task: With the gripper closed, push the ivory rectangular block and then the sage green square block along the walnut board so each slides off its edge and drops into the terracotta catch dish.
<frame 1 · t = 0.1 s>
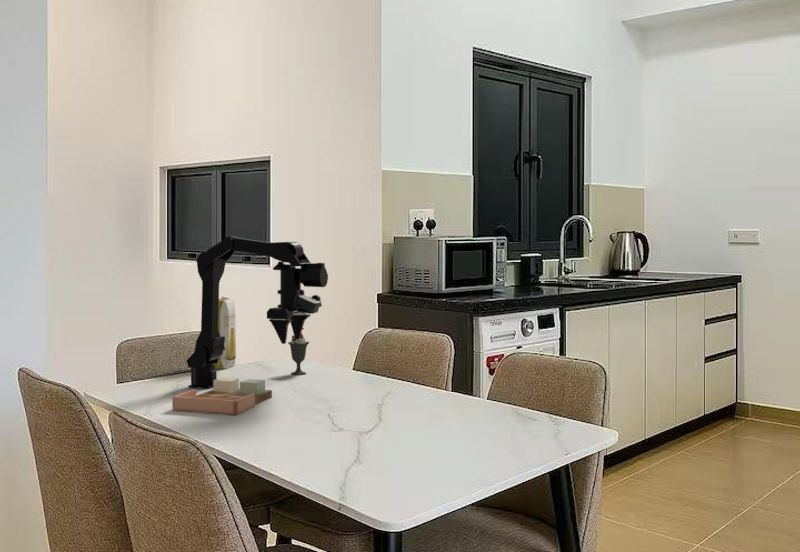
hand: (290, 341, 222), 15 cm above the table, fingers open, 9 cm apart
board: (235, 400, 212), on the table
sage green square block: (252, 391, 214), point 2 cm above the table, touching board
juice carton: (221, 367, 265), on the table
ivory rectangular block: (226, 390, 216), point 2 cm above the table, touching board
sundae: (298, 374, 253), on the table
tray: (214, 408, 202), on the table
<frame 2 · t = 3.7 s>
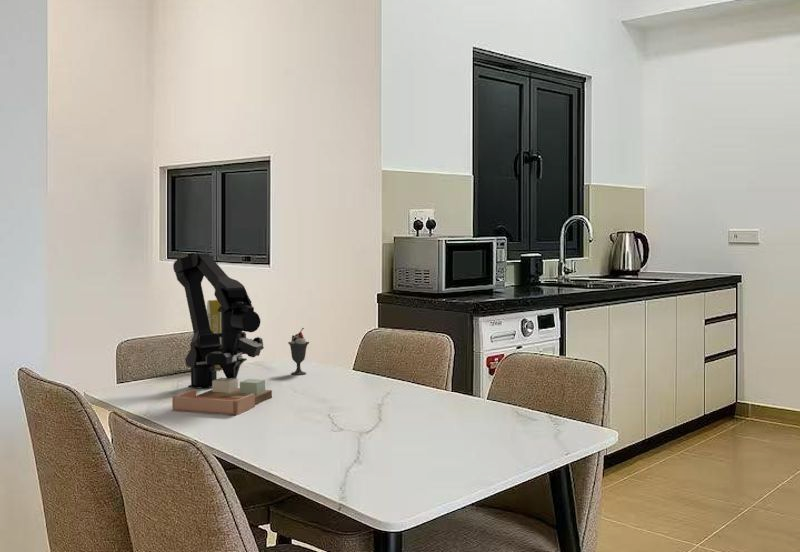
hand: (232, 384, 219), 3 cm above the table, fingers closed
ivory rectangular block: (225, 390, 215), point 2 cm above the table, touching gripper
everything else where it was.
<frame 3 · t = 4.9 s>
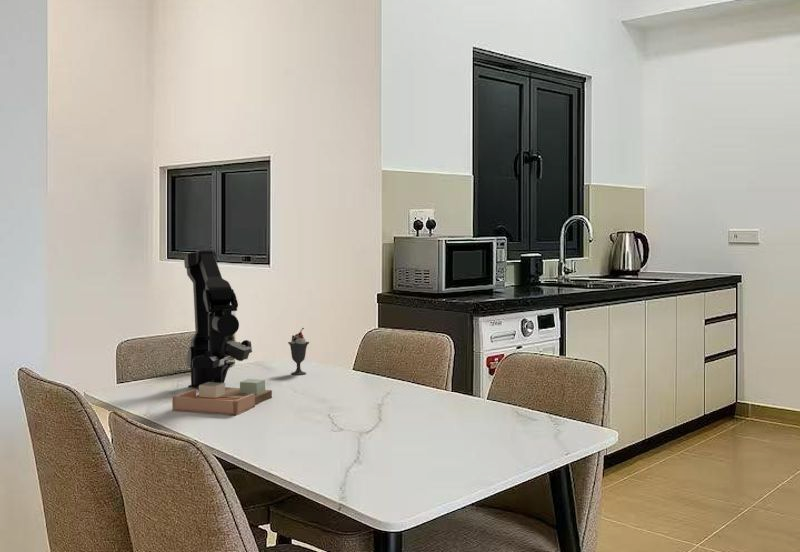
hand: (219, 389, 212), 3 cm above the table, fingers closed
ivory rectangular block: (212, 395, 209), point 2 cm above the table, touching gripper
everything else where it was.
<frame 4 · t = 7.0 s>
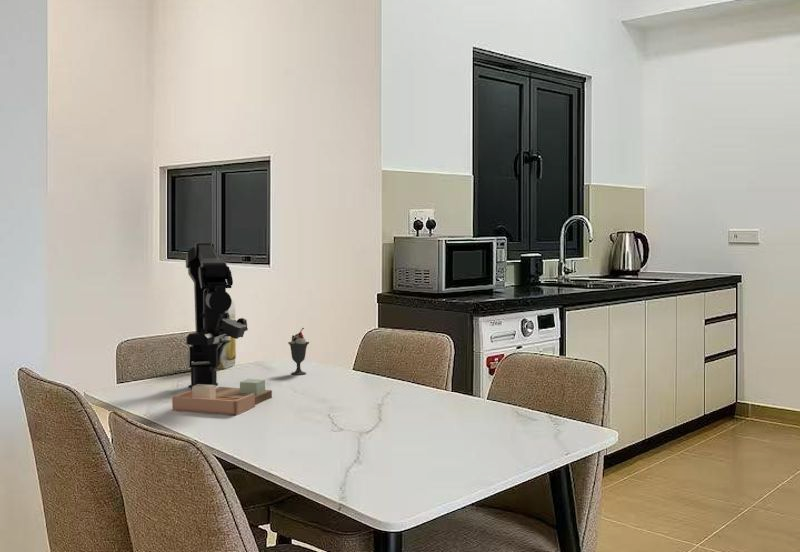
hand: (214, 367, 210), 9 cm above the table, fingers closed
ivory rectangular block: (206, 394, 206), point 3 cm above the table, tilted 90°, touching tray
everything else where it was.
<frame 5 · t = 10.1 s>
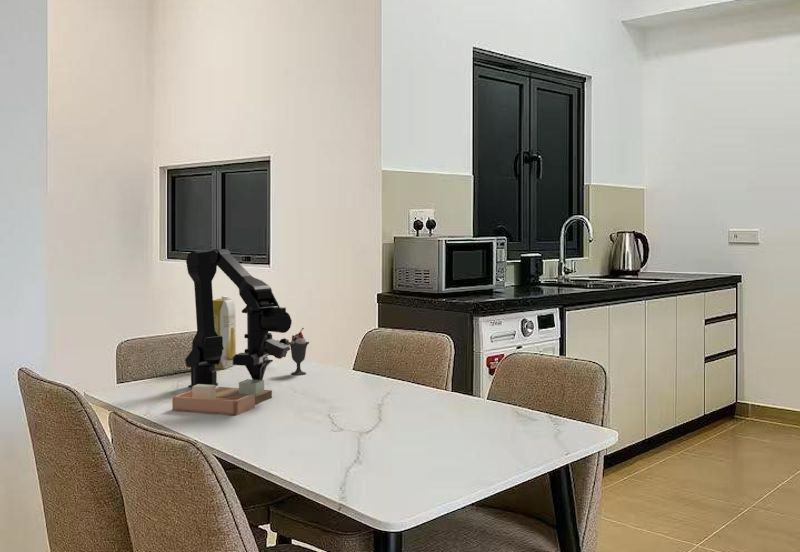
hand: (258, 386, 217), 3 cm above the table, fingers closed
sage green square block: (251, 392, 213), point 2 cm above the table, touching board, gripper
everything else where it was.
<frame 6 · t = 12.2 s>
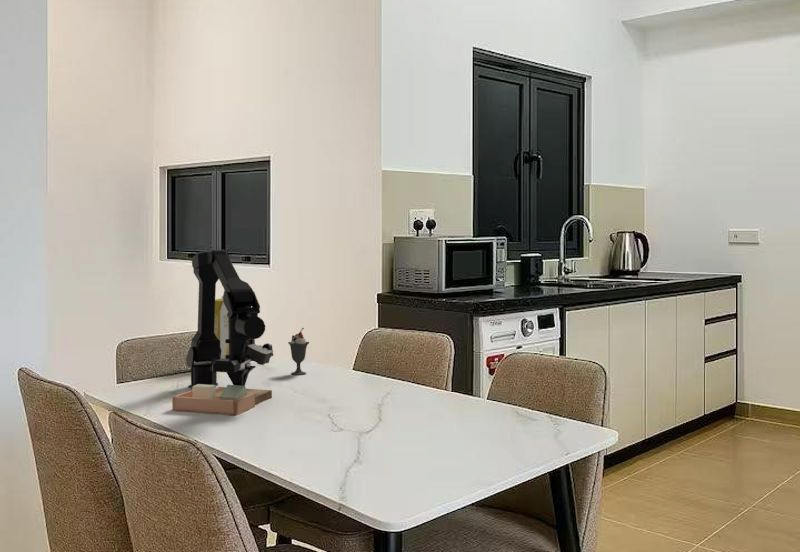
hand: (240, 393, 207), 3 cm above the table, fingers closed
sage green square block: (234, 400, 204), point 2 cm above the table, tilted 27°, touching gripper, tray
everything else where it was.
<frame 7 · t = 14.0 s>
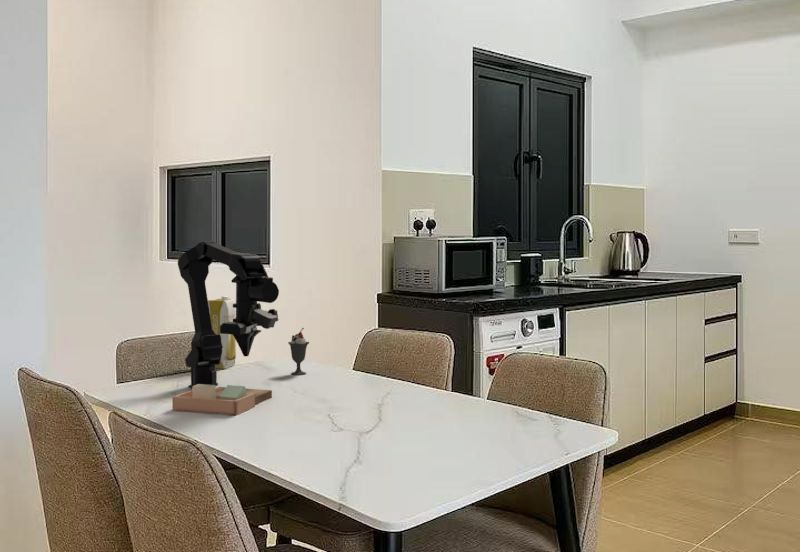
hand: (246, 356, 217), 11 cm above the table, fingers closed
sage green square block: (234, 400, 204), point 2 cm above the table, tilted 25°, touching tray
everything else where it was.
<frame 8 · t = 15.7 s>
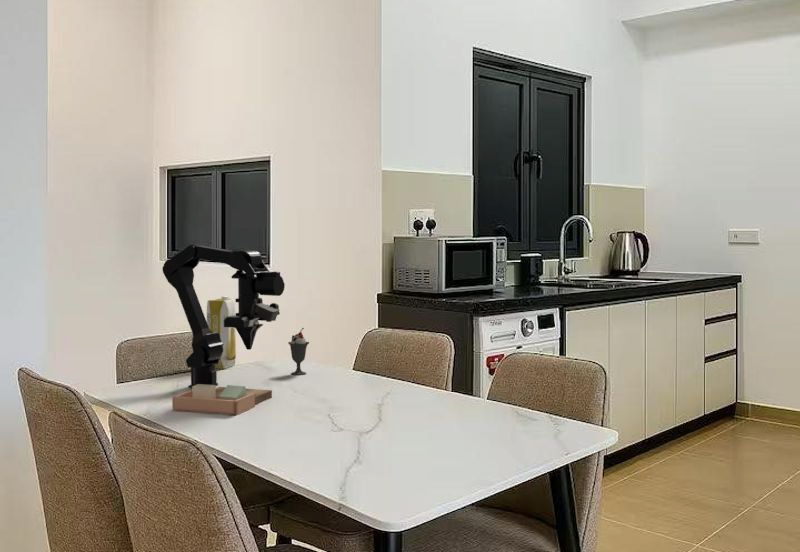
hand: (249, 349, 224), 12 cm above the table, fingers closed
nothing on the table moved.
at the end: ivory rectangular block inside the target area on the tray (4.8 cm from its centre), point 3.0 cm above the tray's base; sage green square block inside the target area on the tray (5.5 cm from its centre), point 1.6 cm above the tray's base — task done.
